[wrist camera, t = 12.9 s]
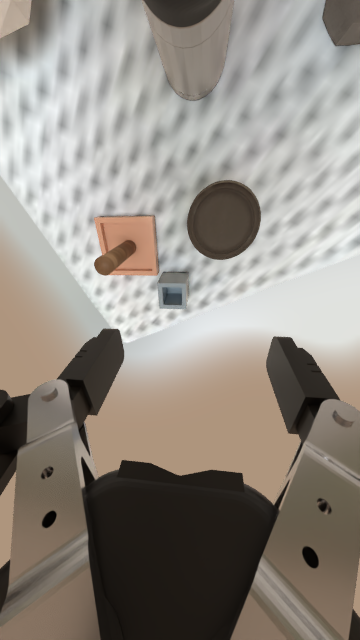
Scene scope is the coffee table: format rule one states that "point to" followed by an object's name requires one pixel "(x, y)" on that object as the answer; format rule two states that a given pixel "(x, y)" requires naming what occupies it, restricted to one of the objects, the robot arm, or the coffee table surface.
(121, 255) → the dowel
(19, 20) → the geometric orb
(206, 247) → the coffee can
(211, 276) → the coffee table surface
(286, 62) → the coffee table surface
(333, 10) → the coffeepot
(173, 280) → the holder
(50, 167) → the coffee table surface
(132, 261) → the tray
